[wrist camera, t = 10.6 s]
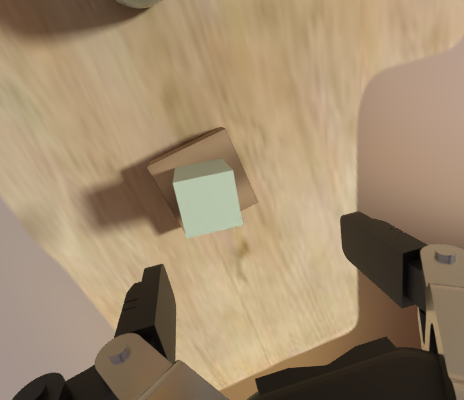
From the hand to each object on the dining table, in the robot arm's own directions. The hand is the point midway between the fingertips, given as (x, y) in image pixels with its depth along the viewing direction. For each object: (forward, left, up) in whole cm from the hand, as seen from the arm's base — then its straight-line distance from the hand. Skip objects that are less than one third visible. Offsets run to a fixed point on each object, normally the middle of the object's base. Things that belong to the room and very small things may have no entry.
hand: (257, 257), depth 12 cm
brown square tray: (+1, -1, -23) cm, 23 cm away
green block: (+1, -1, -19) cm, 19 cm away
